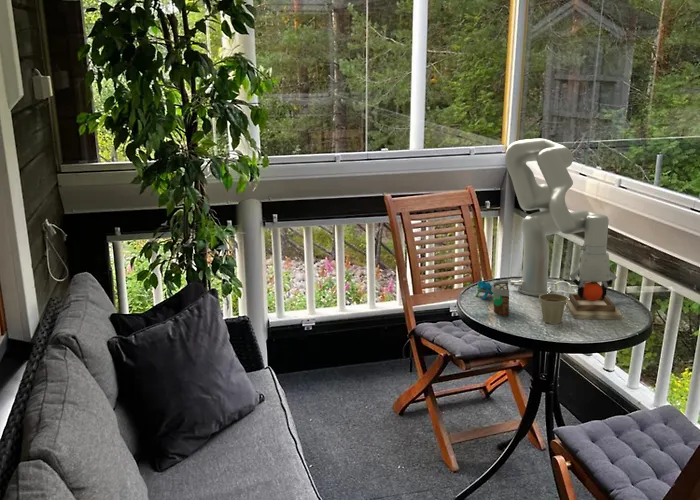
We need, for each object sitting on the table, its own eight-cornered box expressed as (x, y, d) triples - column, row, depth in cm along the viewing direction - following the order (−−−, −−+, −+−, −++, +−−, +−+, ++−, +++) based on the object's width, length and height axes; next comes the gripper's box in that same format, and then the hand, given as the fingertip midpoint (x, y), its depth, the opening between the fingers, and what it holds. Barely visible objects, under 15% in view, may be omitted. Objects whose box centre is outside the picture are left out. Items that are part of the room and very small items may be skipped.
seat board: (574, 318, 217) (574, 308, 216) (562, 299, 236) (563, 290, 236) (622, 319, 215) (622, 309, 214) (606, 300, 234) (607, 291, 233)
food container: (490, 305, 233) (491, 279, 230) (507, 306, 232) (508, 280, 229) (490, 317, 221) (491, 290, 219) (508, 317, 220) (509, 290, 217)
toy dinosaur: (507, 295, 239) (492, 280, 234) (500, 308, 237) (484, 293, 233) (487, 291, 248) (472, 277, 244) (480, 304, 246) (465, 290, 242)
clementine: (586, 295, 230) (587, 277, 228) (605, 298, 226) (607, 280, 224) (578, 301, 224) (579, 282, 222) (598, 305, 220) (599, 285, 218)
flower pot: (532, 319, 218) (533, 295, 216) (553, 314, 221) (554, 291, 219) (550, 328, 210) (551, 303, 207) (572, 323, 213) (573, 299, 211)
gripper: (571, 252, 218) (568, 300, 222) (623, 252, 216) (619, 300, 220) (567, 246, 225) (564, 293, 230) (617, 246, 223) (613, 294, 227)
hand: (591, 296), depth 225 cm, fingers closed on clementine, 6 cm apart
